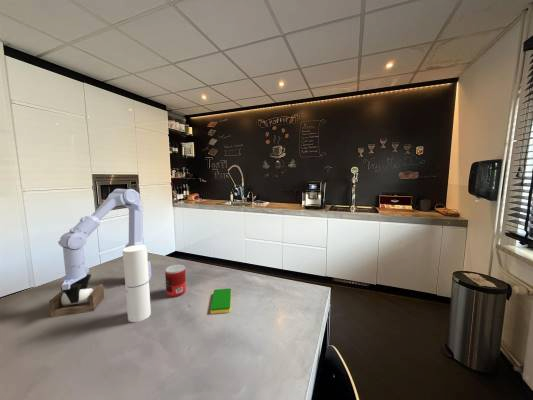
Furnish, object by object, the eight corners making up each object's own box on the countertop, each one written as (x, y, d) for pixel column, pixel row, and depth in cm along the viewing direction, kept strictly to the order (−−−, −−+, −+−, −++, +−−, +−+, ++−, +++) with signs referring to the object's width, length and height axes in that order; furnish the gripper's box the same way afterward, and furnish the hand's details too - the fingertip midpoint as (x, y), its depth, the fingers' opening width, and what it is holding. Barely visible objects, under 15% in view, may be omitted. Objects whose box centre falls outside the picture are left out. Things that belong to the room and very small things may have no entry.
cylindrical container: (140, 323, 75) (135, 252, 72) (122, 320, 76) (117, 250, 73) (155, 310, 82) (151, 245, 79) (138, 308, 83) (134, 244, 80)
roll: (94, 297, 88) (92, 285, 87) (88, 304, 83) (86, 292, 82) (69, 300, 85) (68, 288, 85) (62, 308, 81) (60, 295, 80)
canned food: (189, 288, 98) (188, 264, 97) (180, 298, 90) (179, 272, 89) (172, 287, 99) (171, 263, 98) (162, 297, 91) (161, 271, 90)
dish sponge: (210, 315, 80) (210, 309, 80) (214, 294, 94) (214, 289, 93) (230, 313, 81) (230, 307, 81) (231, 293, 95) (231, 288, 94)
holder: (104, 297, 91) (102, 283, 90) (94, 310, 82) (92, 295, 81) (65, 303, 87) (64, 288, 86) (50, 317, 78) (49, 301, 78)
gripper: (72, 258, 88) (76, 290, 90) (49, 273, 74) (53, 311, 76) (93, 256, 90) (96, 287, 92) (74, 271, 76) (78, 307, 78)
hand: (78, 298), depth 84 cm, fingers closed on roll, 5 cm apart
